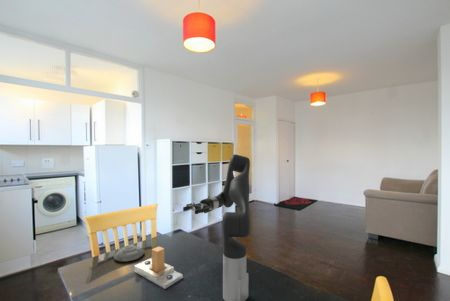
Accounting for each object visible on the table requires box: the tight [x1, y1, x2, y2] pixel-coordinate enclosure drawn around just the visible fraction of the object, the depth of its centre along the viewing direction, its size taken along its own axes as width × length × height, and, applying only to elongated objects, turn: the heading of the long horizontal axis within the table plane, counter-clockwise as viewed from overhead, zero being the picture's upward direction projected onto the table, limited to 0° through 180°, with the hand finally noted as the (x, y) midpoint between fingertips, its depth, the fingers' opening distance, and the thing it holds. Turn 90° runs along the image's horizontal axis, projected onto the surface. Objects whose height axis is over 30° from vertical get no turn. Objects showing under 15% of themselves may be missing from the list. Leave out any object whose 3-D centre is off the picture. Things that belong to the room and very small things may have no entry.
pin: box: [151, 246, 165, 273], centre depth 104 cm, size 4×4×12 cm
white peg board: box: [134, 257, 184, 290], centre depth 104 cm, size 22×10×3 cm, turn 54°
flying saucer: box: [113, 245, 145, 262], centre depth 122 cm, size 15×15×6 cm
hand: (189, 210), depth 117 cm, fingers open, 8 cm apart
